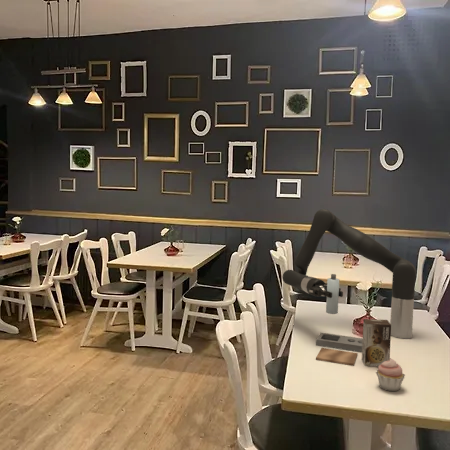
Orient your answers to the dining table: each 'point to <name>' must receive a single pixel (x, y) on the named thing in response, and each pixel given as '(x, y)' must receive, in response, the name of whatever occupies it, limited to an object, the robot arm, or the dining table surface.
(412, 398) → the dining table surface
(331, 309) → the pale blue bottle
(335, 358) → the walnut board
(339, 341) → the grey tray
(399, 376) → the cupcake
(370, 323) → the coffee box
